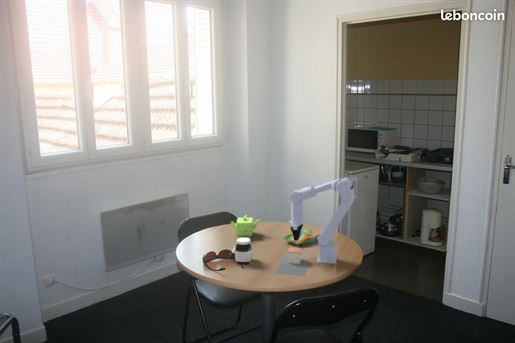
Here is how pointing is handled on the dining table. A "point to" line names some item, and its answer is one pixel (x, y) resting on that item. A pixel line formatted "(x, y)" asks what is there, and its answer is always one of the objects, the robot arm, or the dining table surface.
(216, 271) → the dining table surface
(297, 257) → the cube
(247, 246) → the spread jar
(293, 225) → the robot arm
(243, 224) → the kettle
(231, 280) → the dining table surface
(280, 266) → the mat
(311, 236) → the colorful snack bag
